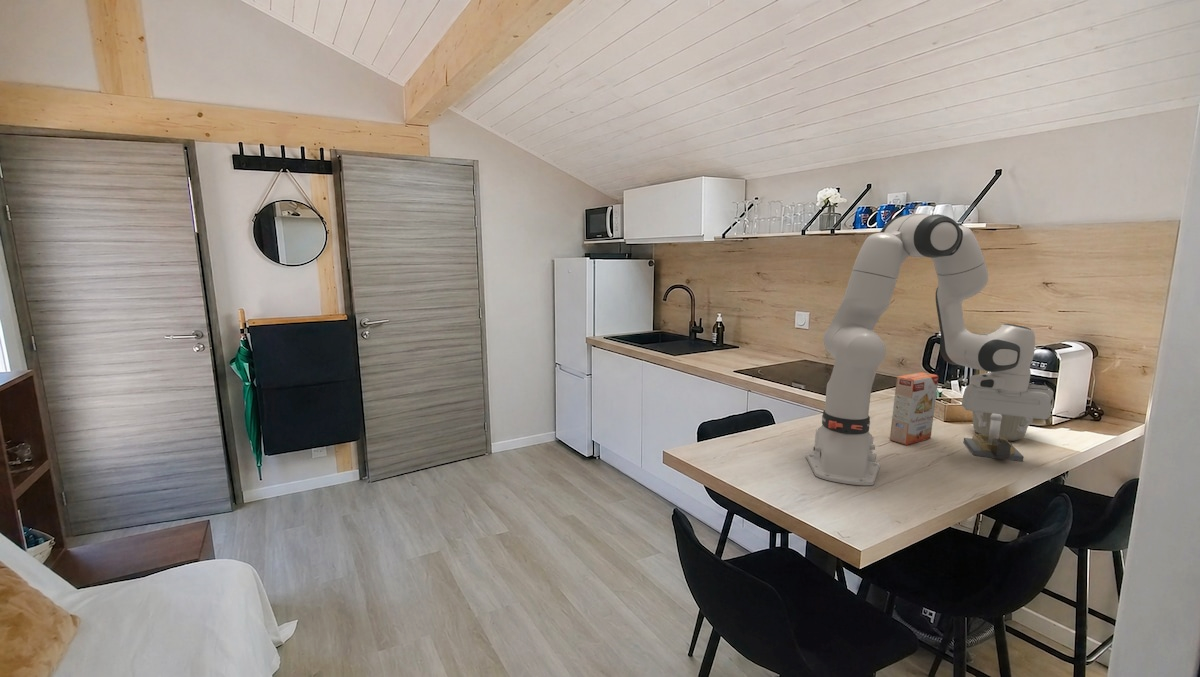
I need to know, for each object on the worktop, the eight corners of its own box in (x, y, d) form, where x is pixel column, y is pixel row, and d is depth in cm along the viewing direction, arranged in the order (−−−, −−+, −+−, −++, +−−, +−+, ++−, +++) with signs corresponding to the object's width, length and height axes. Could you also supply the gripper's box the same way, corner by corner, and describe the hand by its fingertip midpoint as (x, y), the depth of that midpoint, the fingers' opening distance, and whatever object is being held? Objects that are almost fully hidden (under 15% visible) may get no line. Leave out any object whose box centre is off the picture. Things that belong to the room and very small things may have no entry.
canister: (1048, 444, 168) (1058, 378, 165) (997, 446, 165) (1006, 379, 162) (997, 425, 186) (1005, 366, 182) (951, 428, 183) (958, 367, 180)
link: (972, 439, 167) (973, 427, 166) (1003, 443, 164) (1004, 430, 163) (985, 456, 153) (987, 442, 153) (1019, 460, 150) (1021, 446, 150)
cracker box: (907, 446, 165) (914, 379, 161) (888, 440, 170) (895, 375, 166) (932, 438, 172) (939, 374, 169) (913, 433, 177) (920, 371, 174)
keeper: (1023, 461, 154) (1028, 421, 152) (973, 455, 158) (978, 415, 156) (1009, 447, 164) (1014, 409, 163) (963, 442, 169) (967, 405, 167)
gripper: (1050, 384, 150) (1041, 431, 152) (963, 375, 157) (957, 421, 160) (1059, 389, 144) (1050, 438, 146) (969, 380, 152) (962, 427, 154)
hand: (1001, 429), depth 153 cm, fingers open, 8 cm apart
